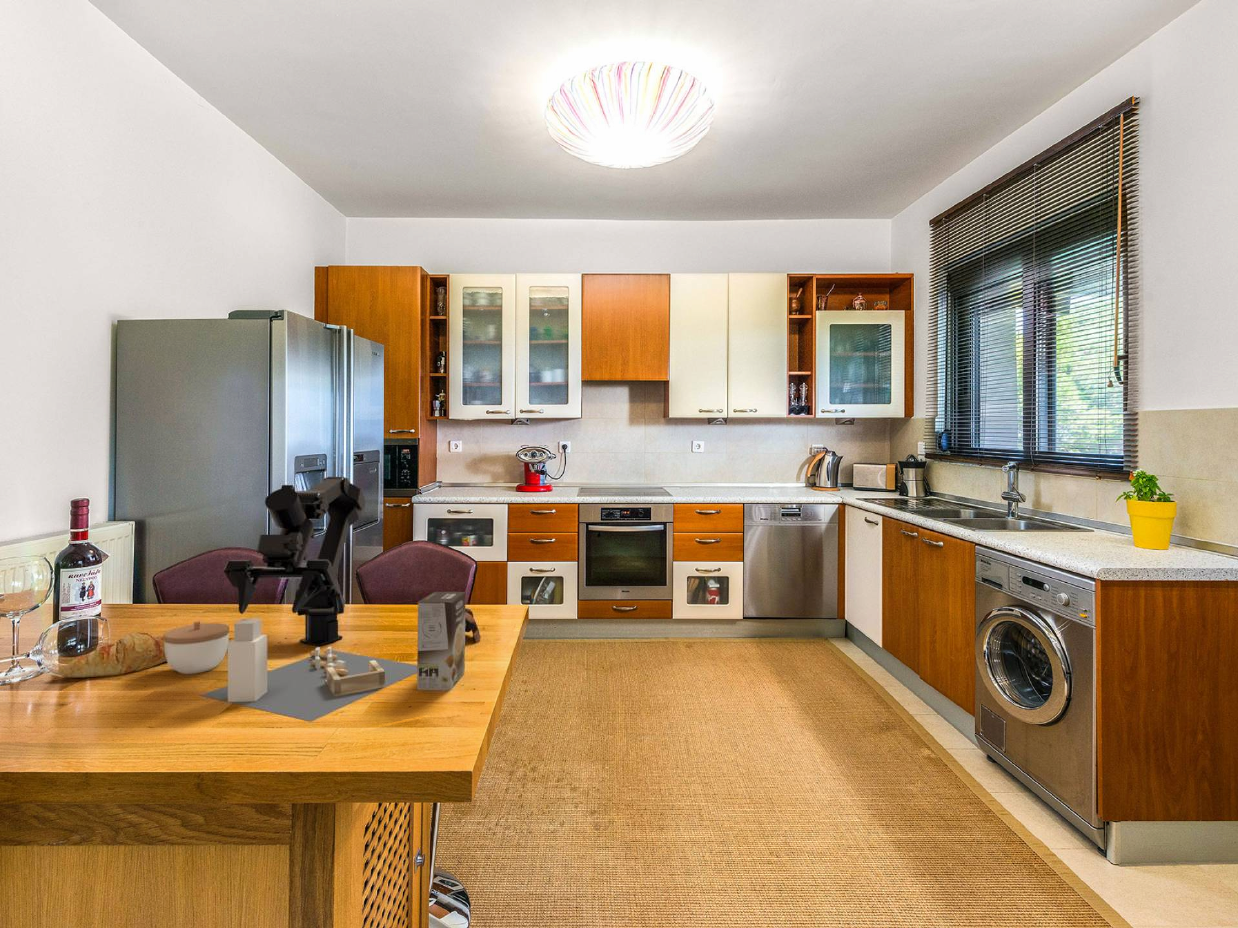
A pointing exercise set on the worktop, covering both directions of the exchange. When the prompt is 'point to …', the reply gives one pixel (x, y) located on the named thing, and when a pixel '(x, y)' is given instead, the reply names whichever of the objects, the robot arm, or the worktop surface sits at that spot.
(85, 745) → the worktop surface
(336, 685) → the end holder
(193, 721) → the worktop surface
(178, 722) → the worktop surface
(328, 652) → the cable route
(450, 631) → the coffee box
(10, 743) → the worktop surface
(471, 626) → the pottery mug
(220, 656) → the lidded jar
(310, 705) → the slate mat
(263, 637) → the white square bottle
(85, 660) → the bread loaf
